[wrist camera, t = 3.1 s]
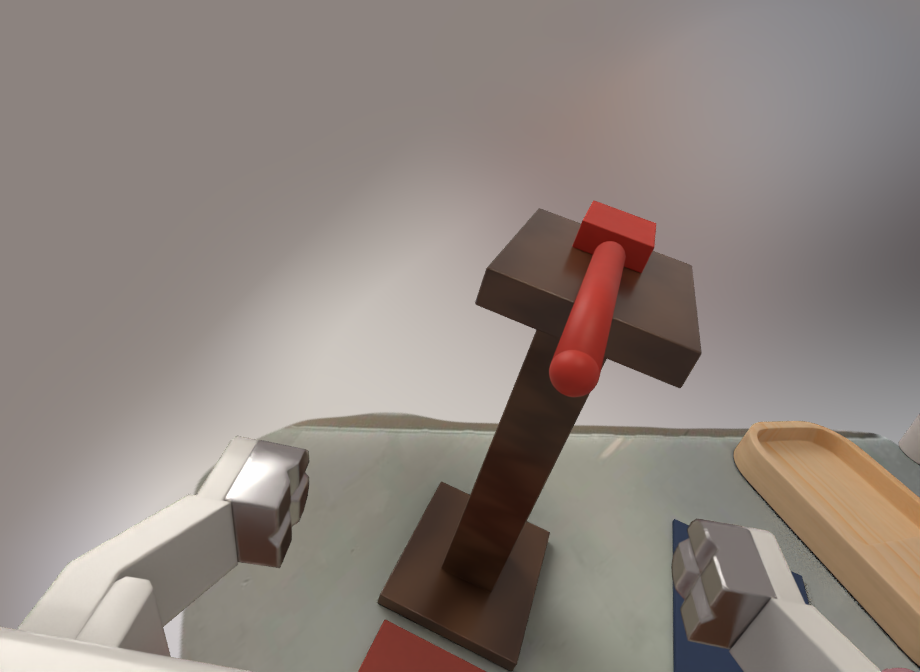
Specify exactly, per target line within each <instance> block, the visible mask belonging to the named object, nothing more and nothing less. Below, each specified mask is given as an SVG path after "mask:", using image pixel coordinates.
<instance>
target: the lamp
mask: <svg viewBox="0 0 920 672" xmlns="http://www.w3.org/2000/svg"><path fill="white" fill-rule="evenodd" d="M734 460H735V463H736V465H737V467H738V469H739V471H740V472H741V473H742V475H743V476H744V477H745V478H746V479H747V481H748V482H749V483H750V484H751V485H752V486H753V487H754V488H755V489H756V491H757V492H758V493H759V494H760V495H761V496H762V497H763V498H764V499H765V500H766V501H767V503H768V504H769V505H770V506H771V507H772V508H773V509H774V510H775V511H776V512H777V514H778V515H779V516H780V517H781V518H782V519H783V520H784V521H785V522H786V523H787V524H788V526H789V527H790V528H791V529H792V530H793V531H794V532H795V533H796V534H797V535H798V536H799V538H800V539H801V540H802V541H803V542H804V543H805V544H806V545H807V546H808V547H809V549H810V550H811V551H812V552H813V553H814V554H815V555H816V556H817V557H818V558H819V559H820V561H821V562H822V563H823V564H824V565H825V566H826V567H827V568H828V569H829V570H830V571H831V573H832V574H833V575H834V576H835V577H836V578H837V579H838V580H839V581H840V582H841V583H842V585H843V586H844V587H845V588H846V589H847V590H848V591H849V592H850V593H851V594H852V595H853V597H854V598H855V599H856V600H857V601H858V602H859V603H860V604H861V605H862V606H863V607H864V609H865V610H866V611H867V612H868V613H869V614H870V615H871V616H872V617H873V618H874V620H875V621H876V622H877V623H878V624H879V625H880V626H881V627H882V628H883V629H884V630H885V632H886V633H887V634H888V635H889V636H890V637H891V638H892V639H893V640H894V641H895V642H896V644H897V645H898V646H899V647H900V648H901V649H902V650H903V651H904V652H905V653H906V654H907V655H908V656H909V657H910V658H911V659H912V660H913V661H914V662H915V663H916V664H917V665H918V666H920V498H919V497H918V496H917V495H915V494H914V493H913V492H912V491H911V490H910V489H908V488H907V487H906V486H905V485H904V484H902V483H901V482H900V481H899V480H898V479H896V478H895V477H894V476H893V475H892V474H891V473H889V472H888V471H887V470H886V469H885V468H883V467H882V466H881V465H880V464H879V463H877V462H876V461H875V460H874V459H873V458H872V457H870V456H869V455H868V454H867V453H866V452H864V451H863V450H862V449H861V448H859V447H858V446H857V445H855V444H854V443H853V442H851V441H850V440H848V439H846V438H845V437H843V436H842V435H840V434H838V433H836V432H834V431H832V430H830V429H828V428H825V427H823V426H820V425H817V424H814V423H810V422H805V421H778V422H758V423H755V424H753V425H752V426H751V427H750V429H749V430H748V431H747V433H746V434H745V436H744V437H743V438H742V440H741V441H740V443H739V444H738V445H737V447H736V448H735V450H734Z"/></svg>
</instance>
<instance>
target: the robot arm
mask: <svg viewBox="0 0 920 672" xmlns="http://www.w3.org/2000/svg"><path fill="white" fill-rule="evenodd" d="M308 464H309V451H308V450H306V449H301V448H296V447H291V446H287V445H282V444H277V443H272V442H267V441H262V440H255V439H250V438H245V437H240V436H236V437H235V438H234V439H233V440H231V441H230V443H229V444H228V446H227V447H226V449H225V450H224V452H223V453H222V455H221V457H220V458H219V460H218V461H217V463H216V465H215V466H214V468H213V469H212V471H211V472H210V474H209V476H208V477H207V479H206V480H205V482H204V483H203V485H202V487H201V488H200V490H199V491H198V493H197V495H187V496H185V497H183V498H182V499H180V500H178V501H176V502H175V503H173V504H171V505H169V506H168V507H166V508H164V509H162V510H161V511H159V512H157V513H155V514H154V515H152V516H150V517H148V518H147V519H145V520H143V521H141V522H140V523H138V524H136V525H134V526H133V527H131V528H129V529H127V530H125V531H124V532H122V533H120V534H118V535H117V536H115V537H113V538H112V539H110V540H108V541H106V542H104V543H103V544H101V545H99V546H97V547H96V548H94V549H92V550H90V551H89V552H87V553H85V554H84V555H82V556H80V557H78V558H76V559H75V560H73V561H71V562H69V563H68V564H67V565H66V567H65V568H64V569H63V570H62V572H61V573H60V574H59V576H58V577H57V578H56V579H55V581H54V582H53V583H52V585H51V586H50V587H49V588H48V590H47V591H46V592H45V594H44V595H43V596H42V597H41V599H40V600H39V601H38V603H37V604H36V605H35V606H34V608H33V609H32V610H31V611H30V613H29V614H28V615H27V617H26V618H25V619H24V620H23V622H22V623H21V624H20V626H19V627H18V629H11V628H6V627H0V672H253V671H247V670H241V669H236V668H230V667H224V666H219V665H213V664H207V663H202V662H196V661H191V660H185V659H179V658H174V657H171V656H170V652H169V648H168V644H167V641H166V637H165V633H164V629H163V627H164V626H165V625H166V624H167V623H168V622H169V621H171V620H172V619H173V618H174V617H176V616H177V615H178V614H179V613H180V612H182V611H183V610H184V609H185V608H186V607H188V606H189V605H190V604H191V603H192V602H194V601H195V600H196V599H197V598H198V597H200V596H201V595H202V594H203V593H204V592H205V591H207V590H208V589H209V588H210V587H211V586H213V585H214V584H215V583H216V582H217V581H219V580H220V579H221V578H222V577H223V576H225V575H226V574H227V573H228V572H229V571H231V570H232V569H233V568H234V567H235V566H237V565H238V562H242V563H249V564H256V565H262V566H269V567H276V568H280V567H281V564H282V562H283V560H284V557H285V555H286V552H287V550H288V548H289V545H290V543H291V540H292V526H294V525H295V524H297V523H298V522H299V521H300V518H301V516H302V513H303V511H304V508H305V504H306V500H307V496H308V489H309V476H308V475H307V474H306V473H305V471H306V469H307V466H308ZM687 532H688V536H689V538H688V539H686V540H684V541H682V542H680V543H679V544H678V546H677V548H676V550H675V552H674V554H673V560H672V578H673V583H674V587H675V589H676V590H677V592H678V593H679V594H680V595H681V596H682V597H683V599H684V600H685V601H684V602H683V604H682V606H681V608H680V612H681V616H682V620H683V624H684V628H685V632H686V635H687V639H688V641H691V642H696V643H701V644H706V645H711V646H716V647H720V648H725V649H730V651H729V652H730V654H731V655H732V656H733V658H734V659H735V660H736V662H737V663H738V665H739V666H740V667H741V669H742V670H743V671H744V672H882V671H881V670H880V669H879V668H878V667H877V666H876V665H875V664H873V663H872V662H871V661H870V660H869V659H868V658H867V657H866V656H865V655H864V654H863V653H862V652H861V651H860V650H859V649H858V648H857V647H856V646H855V645H854V644H853V643H851V642H850V641H849V640H848V639H847V638H846V637H845V636H844V635H843V634H842V633H841V632H840V631H839V630H838V629H837V628H836V627H835V626H834V625H833V624H832V623H831V622H829V621H828V620H827V619H826V618H825V617H824V616H823V615H822V614H821V613H820V612H819V611H818V610H817V609H816V608H815V607H814V606H812V605H807V604H805V602H804V600H803V597H802V595H801V593H800V591H799V589H798V586H797V584H796V582H795V580H794V578H793V575H792V573H791V571H790V569H789V567H788V564H787V562H786V560H785V558H784V556H783V553H782V551H781V549H780V547H779V545H778V542H777V540H776V538H775V536H774V535H773V534H772V533H771V532H770V531H767V530H761V529H755V528H749V527H742V526H739V525H733V524H727V523H721V522H715V521H709V520H703V519H695V520H694V521H692V522H691V523H690V525H689V527H688V528H687Z"/></svg>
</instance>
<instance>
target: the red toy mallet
mask: <svg viewBox="0 0 920 672" xmlns="http://www.w3.org/2000/svg"><path fill="white" fill-rule="evenodd" d="M655 232H656V223H654V222H651V221H648V220H645V219H643V218H640V217H637V216H635V215H632V214H629V213H626V212H624V211H621V210H618V209H616V208H613V207H610V206H607V205H605V204H602V203H599V202H597V201H593V202H592V204H591V206H590V208H589V210H588V211H587V213H586V216H585V217H584V219H583V221H582V223H581V226H580V228H579V231H578V233H577V236H576V238H575V241H574V243H573V245H572V247H574V248H577V249H579V250H582V251H584V252H587V253H590V254H592V255H593V256H592V259H591V261H590V264H589V266H588V269H587V272H586V274H585V277H584V279H583V282H582V284H581V287H580V290H579V292H578V295H577V297H576V300H575V302H574V305H573V308H572V310H571V313H570V315H569V318H568V320H567V323H566V325H565V328H564V331H563V333H562V336H561V338H560V341H559V343H558V346H557V349H556V351H555V354H554V356H553V359H552V361H551V364H550V368H549V376H550V380H551V383H552V384H553V386H554V387H555V388H556V390H557V391H559V392H560V393H561V394H563V395H565V396H568V397H581V396H584V395H586V394H588V393H590V392H591V391H592V390H593V389H594V388H595V386H596V385H597V383H598V380H599V377H600V372H601V368H602V363H603V359H604V354H605V349H606V345H607V340H608V336H609V331H610V327H611V322H612V318H613V313H614V309H615V304H616V299H617V295H618V290H619V286H620V281H621V277H622V272H623V268H624V267H626V268H629V269H631V270H634V271H637V272H639V273H642V272H643V270H644V268H645V266H646V264H647V262H648V260H649V257H650V255H651V253H652V251H653V249H654V244H655Z"/></svg>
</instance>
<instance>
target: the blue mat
mask: <svg viewBox="0 0 920 672" xmlns="http://www.w3.org/2000/svg"><path fill="white" fill-rule="evenodd" d="M688 527H689V525H687V524H684V523H682V522H680V521H678V520H675V519H674V520H673V554H674V552H675V550H676V548H677V546H678V544H679V543H680V542H682V541H684V540H686V539H688V538H689V536H688V532H687V528H688ZM791 573H792V575H793V578H794V580H795V582H796V584H797V586H798V589H799V591H800V593H801V595H802V597H803V600H804V602H805V604H807V605H809V602H808V598H807V594H806V591H805V587H804V583H803V579H802V576H801V575H798V574H796V573H794V572H792V571H791ZM684 601H685V600H684V599H683V597H682V596H681V595H680V594H679V593H678V592H677V590H676V589H675V587H674V583H673V631H674V672H744V671H743V670H742V669H741V667H740V666H739V665H738V663H737V662H736V660H735V659H734V658H733V656H732V655H731V654H730V652H729V651H730V649H725V648H720V647H716V646H711V645H706V644H701V643H696V642H691V641H688V639H687V635H686V632H685V628H684V624H683V620H682V616H681V612H680V608H681V606H682V604H683V602H684Z"/></svg>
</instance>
